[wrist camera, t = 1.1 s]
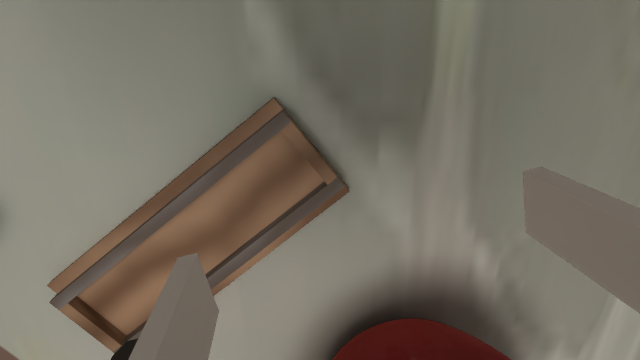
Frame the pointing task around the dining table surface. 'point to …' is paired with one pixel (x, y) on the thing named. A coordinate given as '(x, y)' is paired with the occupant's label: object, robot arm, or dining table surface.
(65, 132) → the dining table surface
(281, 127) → the tray
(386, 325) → the mixing bowl
